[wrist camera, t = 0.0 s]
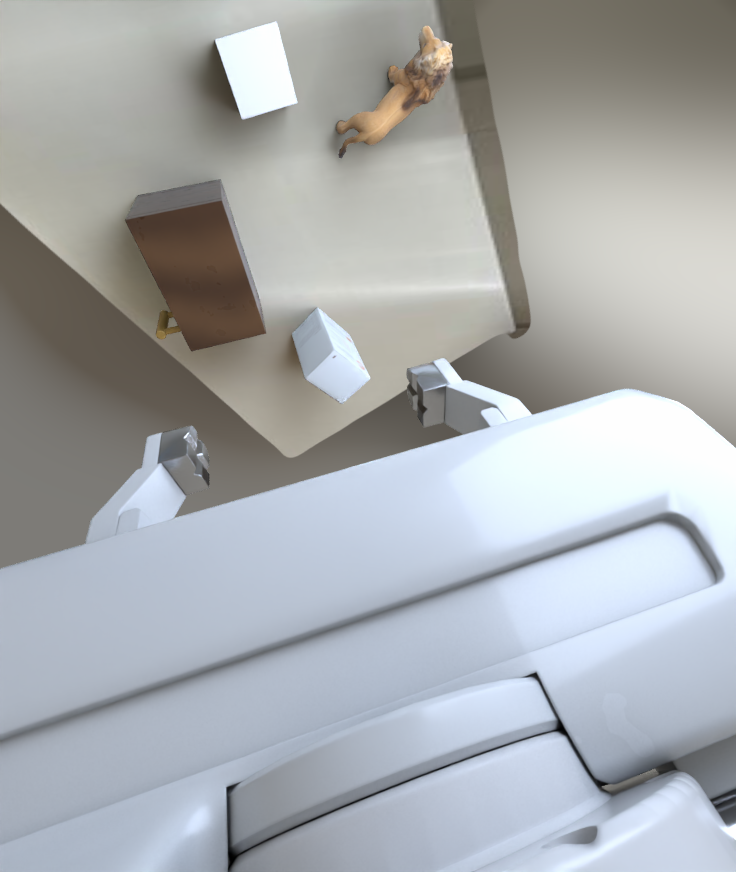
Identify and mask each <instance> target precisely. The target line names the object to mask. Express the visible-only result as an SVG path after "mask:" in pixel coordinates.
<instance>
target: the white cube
mask: <svg viewBox="0 0 736 872" xmlns="http://www.w3.org/2000/svg"><path fill="white" fill-rule="evenodd" d="M215 43H216V46H217V49H218V52H219V55H220V58H221V61H222V64H223V66H224V69H225V72H226V75H227V78H228V81H229V84H230V87H231V90H232V93H233V96H234V98H235V101H236V104H237V107H238V110H239V113H240V115H241V118H242V120H243V119H247V118H250V117H253V116H256V115H260V114H263V113H266V112H269V111H273V110H276V109H279V108H282V107H286V106H289V105H292V104H295V103H297V99H296V95H295V91H294V87H293V84H292V80H291V76H290V72H289V68H288V64H287V60H286V56H285V52H284V48H283V45H282V41H281V37H280V33H279V29H278V25H277V21H276V22H273V23H270V24H266V25H263V26H259V27H256V28H253V29H249V30H246V31H243V32H239V33H236V34H232V35H229V36H226V37H222V38H219V39H215Z"/></svg>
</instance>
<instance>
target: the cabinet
mask: <svg viewBox="0 0 736 872" xmlns="http://www.w3.org/2000/svg"><path fill="white" fill-rule="evenodd" d="M125 221H126V223H127V225H128V227H129V229H130V231H131V233H132V235H133V237H134V239H135V241H136V243H137V245H138V247H139V249H140V251H141V253H142V255H143V257H144V259H145V261H146V263H147V265H148V267H149V269H150V271H151V273H152V275H153V277H154V279H155V281H156V283H157V285H158V287H159V289H160V291H161V293H162V295H163V297H164V299H165V300H166V302H167V304H168V306H169V308H170V310H171V312H172V314H173V316H174V318H175V320H176V322H177V324H178V326H179V328H180V330H181V332H182V334H183V336H184V338H185V340H186V342H187V344H188V346H189V348H190V350H191V351H195V350H199V349H203V348H207V347H212V346H216V345H220V344H224V343H228V342H232V341H236V340H241V339H245V338H249V337H253V336H257V335H261V334H265V333H266V330H265V324H264V319H263V314H262V309H261V304H260V299H259V296H258V293H257V290H256V287H255V284H254V281H253V278H252V275H251V271H250V268H249V265H248V262H247V259H246V256H245V253H244V250H243V247H242V244H241V241H240V237H239V234H238V231H237V228H236V225H235V222H234V219H233V216H232V213H231V210H230V207H229V203H228V200H227V197H226V194H225V191H224V188H223V185H222V182H221V180H215V181H209V182H204V183H199V184H194V185H189V186H184V187H178V188H173V189H168V190H163V191H158V192H153V193H148V194H142V195H138V196H137V198H136V200H135V201H134V203H133V205H132V207H131V209H130V211H129V213H128V215H127V217H126V219H125Z"/></svg>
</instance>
